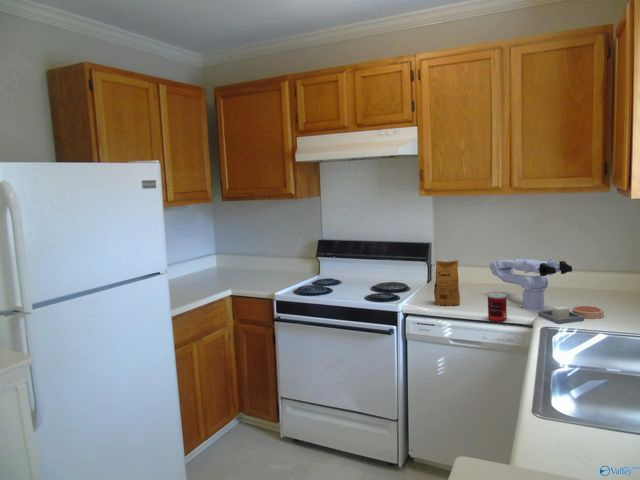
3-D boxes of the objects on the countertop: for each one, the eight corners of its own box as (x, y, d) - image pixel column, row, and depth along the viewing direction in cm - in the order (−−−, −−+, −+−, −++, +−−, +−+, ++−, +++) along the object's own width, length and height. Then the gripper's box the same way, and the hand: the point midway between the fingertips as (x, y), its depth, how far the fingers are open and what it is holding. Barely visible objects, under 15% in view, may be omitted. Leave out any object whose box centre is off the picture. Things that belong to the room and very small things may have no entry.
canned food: (502, 316, 215) (501, 292, 214) (509, 321, 207) (509, 296, 206) (485, 317, 215) (484, 293, 214) (492, 322, 207) (491, 297, 206)
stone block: (552, 317, 207) (552, 307, 206) (562, 316, 208) (562, 306, 207) (558, 320, 203) (558, 309, 203) (569, 318, 204) (569, 308, 203)
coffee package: (434, 301, 248) (433, 259, 246) (459, 301, 245) (458, 258, 243) (434, 306, 239) (432, 262, 236) (460, 306, 236) (459, 262, 233)
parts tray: (538, 317, 211) (538, 311, 211) (562, 314, 213) (562, 308, 213) (558, 325, 198) (558, 319, 198) (584, 322, 200) (584, 316, 200)
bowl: (566, 314, 212) (566, 307, 212) (589, 311, 215) (589, 304, 214) (585, 321, 201) (585, 314, 201) (609, 318, 203) (609, 311, 203)
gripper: (527, 259, 214) (547, 261, 201) (556, 257, 217) (578, 258, 203) (528, 275, 214) (548, 278, 201) (557, 272, 217) (578, 275, 203)
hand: (563, 269), depth 202 cm, fingers open, 7 cm apart
